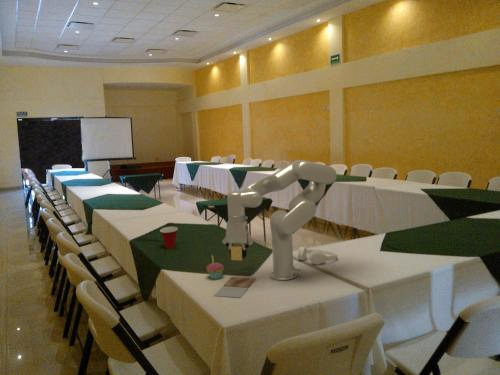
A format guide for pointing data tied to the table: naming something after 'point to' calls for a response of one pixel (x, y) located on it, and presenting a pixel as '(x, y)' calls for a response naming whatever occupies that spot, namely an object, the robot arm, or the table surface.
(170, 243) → the plastic cup
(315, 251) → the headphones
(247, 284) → the walnut mat
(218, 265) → the cupcake
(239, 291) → the grey mat
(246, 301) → the table surface
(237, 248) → the mustard block
